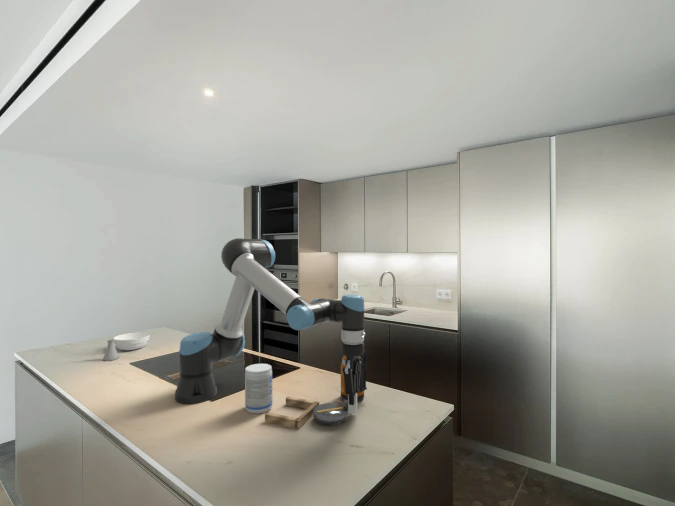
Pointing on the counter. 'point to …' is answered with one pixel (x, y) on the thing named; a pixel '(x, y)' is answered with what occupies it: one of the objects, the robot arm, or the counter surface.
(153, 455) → the counter surface
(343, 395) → the canister
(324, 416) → the turntable
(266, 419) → the brown piece
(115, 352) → the flask
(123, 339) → the bowl
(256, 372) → the supplement tub
